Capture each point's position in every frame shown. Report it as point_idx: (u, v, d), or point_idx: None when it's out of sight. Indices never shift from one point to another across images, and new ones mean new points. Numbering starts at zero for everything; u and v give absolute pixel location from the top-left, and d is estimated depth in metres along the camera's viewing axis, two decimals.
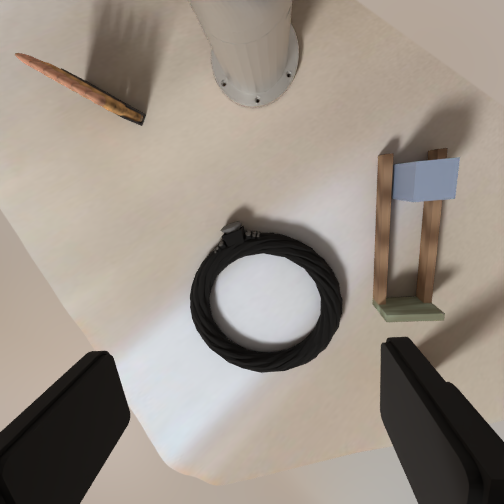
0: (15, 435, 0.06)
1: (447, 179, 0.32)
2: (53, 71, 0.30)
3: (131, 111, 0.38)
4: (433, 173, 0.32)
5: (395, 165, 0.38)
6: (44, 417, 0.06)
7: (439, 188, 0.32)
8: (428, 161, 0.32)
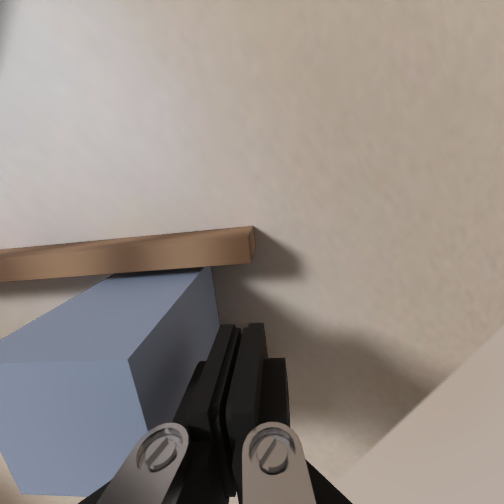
0: (214, 388, 0.06)
1: (80, 470, 0.08)
2: None
3: None
4: (90, 424, 0.07)
5: (194, 275, 0.12)
6: (224, 375, 0.07)
7: (41, 450, 0.08)
8: (135, 404, 0.07)
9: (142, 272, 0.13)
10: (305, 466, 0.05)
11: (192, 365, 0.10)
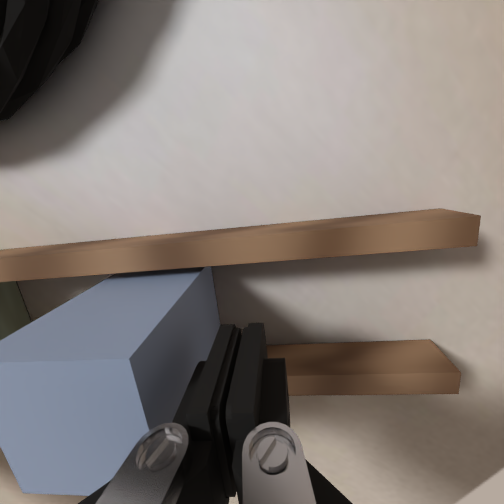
0: (214, 388, 0.06)
1: (81, 469, 0.08)
2: None
3: None
4: (92, 423, 0.07)
5: (194, 275, 0.12)
6: (224, 375, 0.07)
7: (43, 448, 0.08)
8: (136, 402, 0.07)
9: (143, 272, 0.13)
10: (305, 466, 0.05)
11: (193, 364, 0.11)
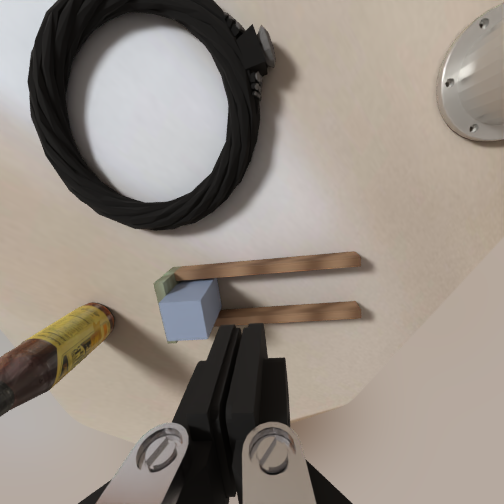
0: (214, 388, 0.06)
1: (185, 331, 0.30)
2: None
3: None
4: (189, 317, 0.29)
5: (211, 280, 0.34)
6: (223, 376, 0.07)
7: (175, 326, 0.30)
8: (201, 311, 0.29)
9: None
10: (305, 466, 0.05)
11: (212, 309, 0.33)
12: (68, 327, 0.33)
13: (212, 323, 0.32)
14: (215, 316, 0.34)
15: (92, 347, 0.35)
